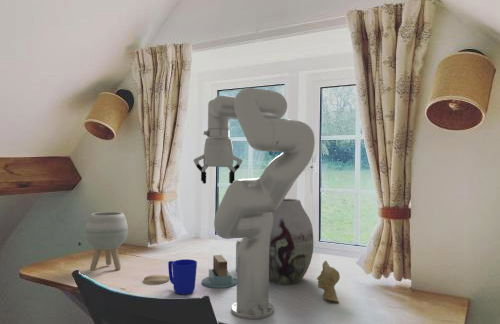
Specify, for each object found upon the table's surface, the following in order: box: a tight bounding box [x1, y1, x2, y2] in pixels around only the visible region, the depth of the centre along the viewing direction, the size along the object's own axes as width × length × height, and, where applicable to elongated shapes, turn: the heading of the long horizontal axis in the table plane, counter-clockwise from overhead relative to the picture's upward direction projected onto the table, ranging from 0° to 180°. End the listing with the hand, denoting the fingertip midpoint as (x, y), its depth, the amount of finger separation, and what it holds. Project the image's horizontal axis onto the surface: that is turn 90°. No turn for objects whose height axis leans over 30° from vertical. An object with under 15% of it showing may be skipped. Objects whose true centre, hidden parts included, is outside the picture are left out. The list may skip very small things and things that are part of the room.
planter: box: [85, 211, 129, 272], centre depth 153 cm, size 16×16×22 cm
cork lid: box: [143, 274, 170, 285], centre depth 138 cm, size 9×9×1 cm
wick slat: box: [212, 254, 228, 276], centre depth 137 cm, size 5×3×10 cm
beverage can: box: [235, 238, 243, 269], centre depth 154 cm, size 6×6×12 cm
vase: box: [269, 198, 314, 285], centre depth 141 cm, size 21×21×30 cm
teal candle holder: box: [201, 268, 237, 289], centre depth 137 cm, size 13×13×4 cm
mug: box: [167, 258, 198, 295], centre depth 127 cm, size 8×12×10 cm
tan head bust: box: [316, 260, 341, 303], centre depth 120 cm, size 8×7×12 cm
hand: (217, 183), depth 133 cm, fingers open, 9 cm apart
